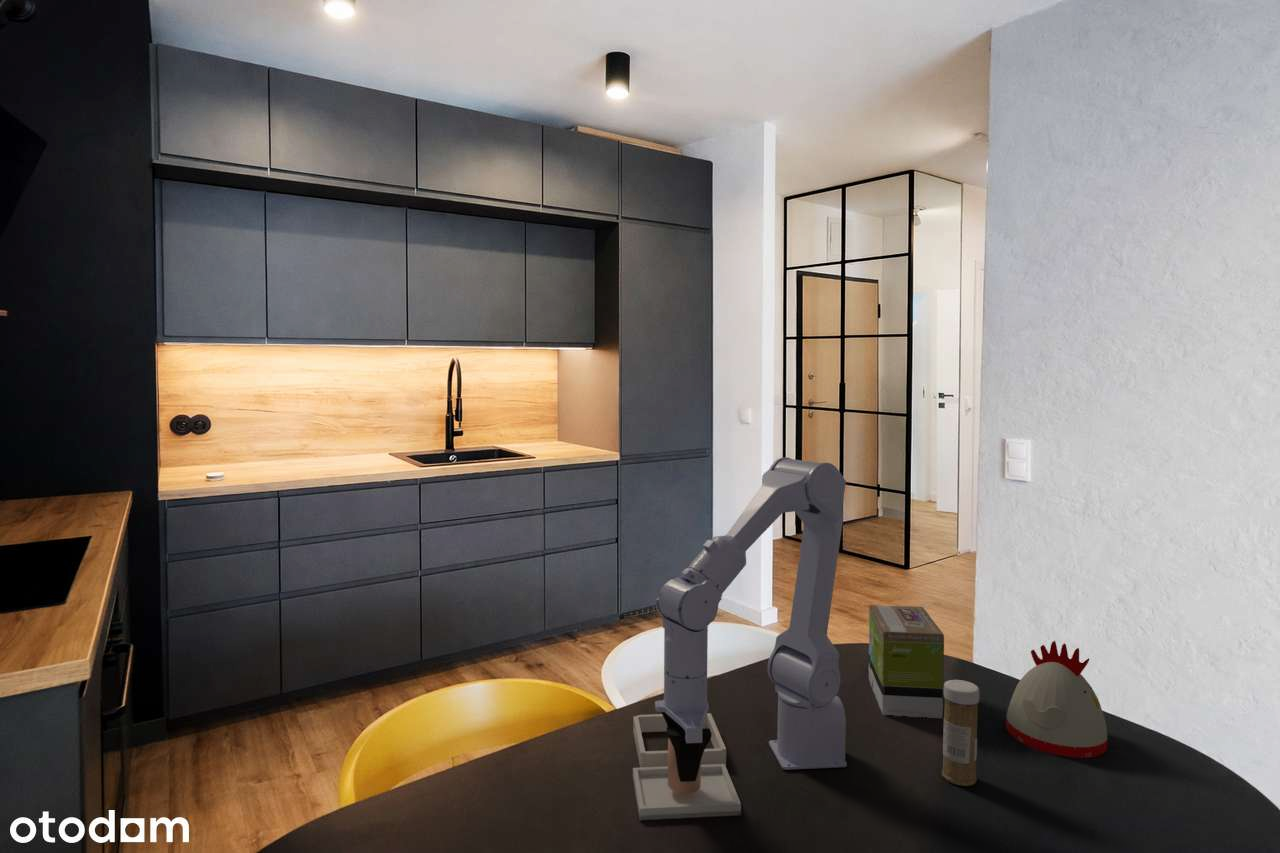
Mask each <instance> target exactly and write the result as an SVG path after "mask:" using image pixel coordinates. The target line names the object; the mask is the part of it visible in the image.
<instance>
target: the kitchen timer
mask: <svg viewBox="0 0 1280 853" xmlns="http://www.w3.org/2000/svg"><path fill="white" fill-rule="evenodd" d="M1039 648H1040V652H1041V656H1042V658H1040V657H1039V656H1038V654H1037V652H1036V650H1035V649H1031V650H1030V655H1031V657H1032V660H1033V662H1034V664H1035V666H1033V667H1032V668H1031V669H1029V670H1028V671H1027V672H1026V673H1025V674H1024V675H1023V676H1022V678H1021V679H1020V680H1019V682H1018V683H1017V685H1016V687H1015V689H1014V691H1013V693H1012V697H1011V699H1010V702H1009V705H1008V708H1007V711H1006V722H1005V727H1006V730H1007V732H1008V734H1010V736H1012V738H1014V739H1015V740H1017V741H1018V742H1020V743H1022V744H1023V745H1024V746H1027V747H1030V748H1032V749H1035V750H1037V751H1041V752H1043V753H1044V752H1045V753H1047V754H1051V755H1055V756H1060V757H1066V758H1078V759H1079V758H1080V759H1082V758H1083V759H1084V758H1095V757H1098V756H1101V755H1103V754H1104V753H1105V752H1106V751H1108V750H1107V749H1108V727H1107V724H1106V719H1105V716H1104V715H1105V714H1104V712H1103V710H1102V705H1101V702H1100V700H1099V698H1098V695H1097V694H1096V693H1095V692H1096V691H1094V689H1093V687H1092V686H1091V685H1090V683H1089V682H1088V681H1087V680H1086V678H1085V677H1084V676H1083V675H1082V672H1083V671H1084V670H1085V668H1086V667H1087V665H1088V664H1089V661H1090V658H1087V659H1086V660H1084V661H1083V662H1081V661H1080V648H1079V647H1077V648H1076V649H1075V650H1074V652H1073V654H1072V656H1071V658H1069V653H1068V649H1067V648H1068V647H1067V644H1066V643H1063V644H1062V645H1061V649H1060V654H1059V650H1058V646H1057V642H1056V640H1053V641H1052V642H1051V644H1050V648H1049V651H1048V649H1047V647H1046V646H1045V645H1044V644H1042V645H1041V646H1040V647H1039Z"/></svg>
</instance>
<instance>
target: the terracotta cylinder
mask: <svg viewBox="0 0 1280 853" xmlns="http://www.w3.org/2000/svg"><path fill="white" fill-rule="evenodd" d="M667 740H668V741H667V750H668V787H669V788H670V789H671V790H673V791H675V792H678V793H693V792H695V791H697V790H699V788H700V787H701V762H700V767H699V771H698V775H697V778H696V781H691V782H680V779H679V775H678V771H677V764H676V756H675V751H674V747H673V745H672V743H671V741H670V739H669V738H668V739H667Z"/></svg>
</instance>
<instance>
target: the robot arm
mask: <svg viewBox="0 0 1280 853" xmlns="http://www.w3.org/2000/svg"><path fill="white" fill-rule="evenodd" d="M846 485H847V480H846V479H845V477H844V476H843V475H842V473H841V472H840V471H839V469H838V467H837V466H836V465H834V464H832V463H830V462H817V461H809V460H801V459H793V458H791V457H784V456H783V457H780V458H778V459H776V460H775V461H773V463H772V464H771V465H770V467H769V469H768V470H767V471H765V472H764V473H763V474H762V478H761V485H760V486H761V487H760V488H759V489H758V491H757V492H756V493H755V495H754V496H753V498H752V499H751V501H750V502H749V503H748V505H747V506H746V507H745V509H744V510H743V511H742V512H741V514H740V516H739V517H738V518H737V519H736V521H735V522H734V523H733V525H732V527H730V529H729V531H728V532H727V533H726V534H725V535H718V536H716V535H715V536H713V537H712V538H711V539H707V540H706V541H705V542H704V544H702V547H703V549H702V550H701V551H700V552H699V553H698V555H697V556H695V558H694V559H693V561H692V562H691V563H690V564H689V565H688V567H686V568H684V569H683V571H681V574H680V576H679V577H677V576H676V577H674V579H673V578H672V579H670V580H668V581H667V582H666V583H664V585H663V586H662V587H661V589H660V591H659V594H658V598H656V599H655V602H654V603H655V608H656V610H657V612H658V614H659V615H660V616H661V618H662V629H664V630H663V631H664V632H663V634H664V637H663V638H664V641H663V645H664V647H663V652H664V653H663V699H662V700H656V701H654V708H655V711H656V712H658V713H661V714H662V715H663V717H664V719H665V721H666V723H667V726H668V727H667V731H666V733H667V736H668V739H670V741H671V743H672V745H673V747H674V751H675V756H676V764H677V771H678V775H679V779H680V782H691V781H696V778H697V775H698V771H699V767H700V762H701V758H702V755H703V752H704V750H705V749H707V746H708V745H709V743H710V742H711V736H712V733H711V731H710V728H706V729H702V725H703V722H704V720H705V717H706V715H707V713H708V712H709V702H708V649H709V648H708V639H709V636H708V631H709V630H708V628H709V627H708V626H709V625H711V623H713V622H714V621H715V620H716V617H717V614H718V611H719V603H720V602H721V600H722V597H723V594H724V592H725V591H726V589H728V588H729V586H730V585H731V584H732V582H733V581H734V580H735V579H736V577H738V575H739V574H740V573H741V571H742V570H743V569H744V568H745V567H746V566H747V555H746V554H747V553H746V552H747V550H748V549H750V548H751V547H752V546H753V544H754V543H756V542H757V540H758V539H759V538H760V537H761V536H762V535H763V534H764V533H765V532H766V531H767V529H769V528H770V526H771V525H772V524H773V523H774V522H776V520H778V518H779V517H780V516H781V515H782V514H785V513H793V512H794V513H795V514H796V516H797V517H798V518H799V519H800V520H801V522H802V524H803V528H802V529H803V530H802V537H801V543H800V551H799V557H798V558H799V559H798V564H797V569H796V570H797V571H796V579H795V586H794V591H793V592H794V593H793V601H792V606H791V612H790V613H791V614H790V620H789V627H788V628H787V629H786V630H784V631H783V632H781V633H779V634H778V635H777V636H776V638H775V644H774V648H773V650H772V652H771V653H770V656H769V659H768V662H767V669H766V670H767V674H768V677H769V679H770V680H771V682H772V683H773V684H774V687H775V688H774V692H776V693H777V694H778V695H777V736H776V737H777V739H774V740H773V739H772V740H769V741H768V745H769V747H770V748H771V750H772V752H773V754H774V756H775V758H776V759H777V761H778V763H779V765H780V766H781V767H780V768H782V770H786V771H789V770H806V769H807V770H811V769H829V768H830V769H832V768H833V769H834V768H846V767H847V766H848V765H847V764H848V762H847V761H846V738H847V737H846V735H847V733H846V731H847V730H846V727H847V724H846V722H847V721H846V719H847V718H846V712H845V707H844V704H843V702H842V700H841V698H840V696H837V694H838V693H839V690H840V686H841V679H842V678H841V672H840V667H839V664H840V663H839V662H840V653H839V651H838V650H837V648H836V647H835V646H834V644H833V643H832V641H831V639H830V638H829V636H828V630H829V622H830V615H831V607H832V602H833V592H834V587H835V586H834V585H835V580H836V573H837V566H838V557H839V551H840V544H841V537H842V530H843V529H842V528H843V523H844V509H843V504H844V499H845V492H846V490H845V489H846Z"/></svg>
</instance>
